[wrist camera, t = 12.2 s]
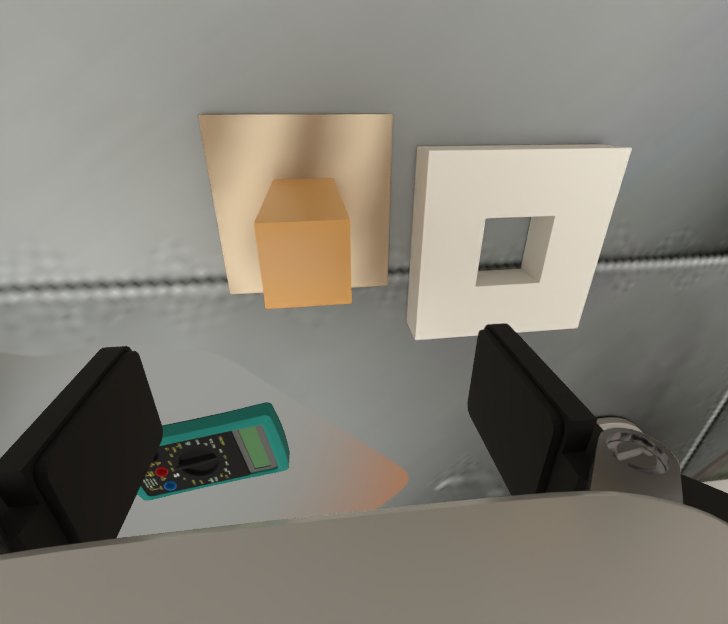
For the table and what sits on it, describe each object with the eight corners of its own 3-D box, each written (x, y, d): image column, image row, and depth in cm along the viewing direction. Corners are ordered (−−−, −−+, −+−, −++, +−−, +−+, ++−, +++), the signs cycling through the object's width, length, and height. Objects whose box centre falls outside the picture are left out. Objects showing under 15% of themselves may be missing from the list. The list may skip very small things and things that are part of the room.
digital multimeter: (112, 430, 35) (97, 456, 32) (273, 396, 36) (270, 419, 33) (147, 482, 39) (136, 509, 36) (292, 450, 39) (291, 474, 37)
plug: (333, 177, 26) (349, 219, 16) (335, 235, 28) (351, 303, 18) (273, 179, 25) (253, 223, 16) (279, 238, 27) (265, 308, 18)
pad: (389, 114, 25) (392, 114, 25) (385, 280, 31) (387, 285, 30) (201, 114, 24) (197, 114, 23) (232, 288, 30) (230, 294, 29)
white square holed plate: (601, 144, 28) (631, 147, 26) (556, 311, 35) (577, 328, 32) (417, 146, 27) (429, 150, 24) (406, 321, 33) (415, 340, 31)
